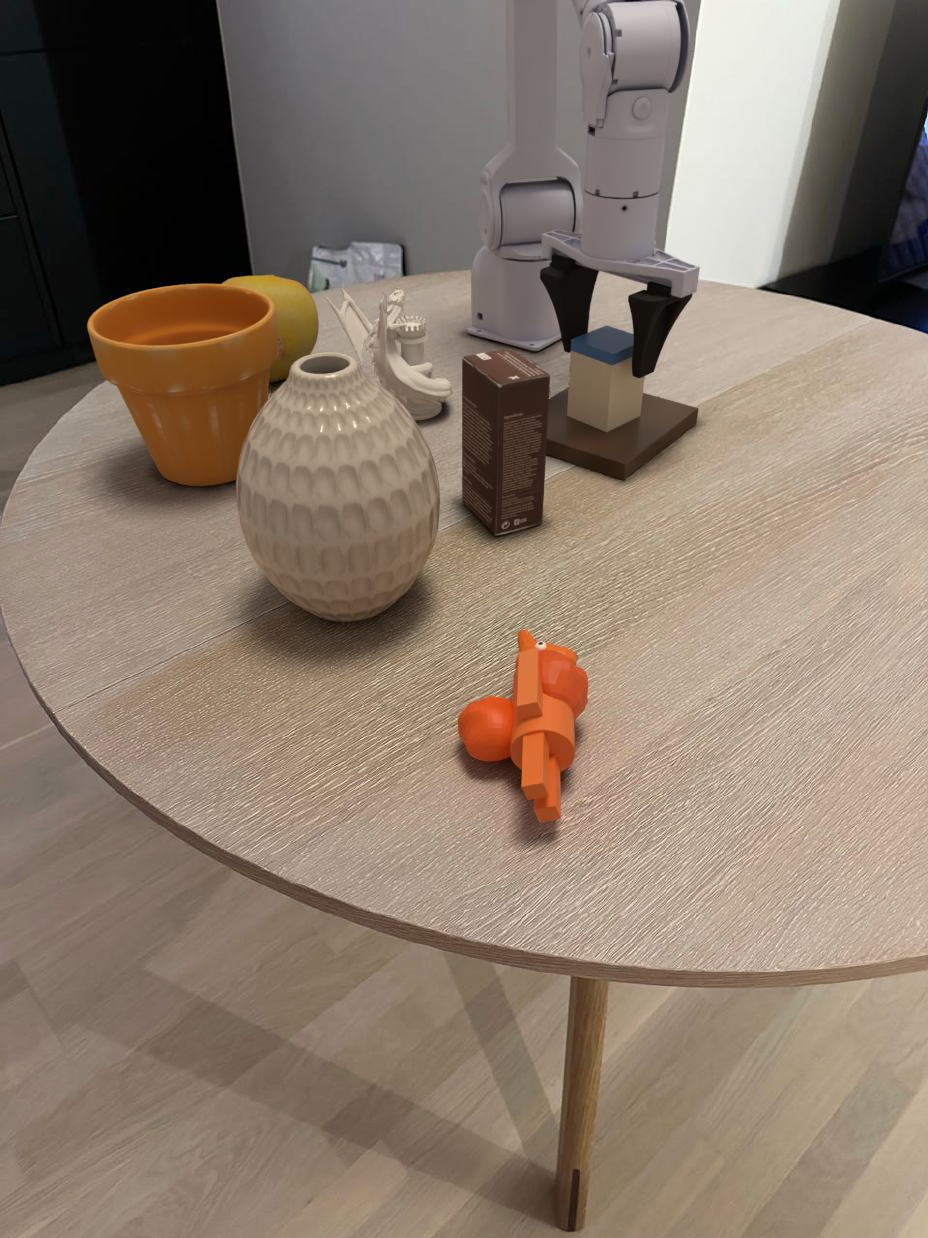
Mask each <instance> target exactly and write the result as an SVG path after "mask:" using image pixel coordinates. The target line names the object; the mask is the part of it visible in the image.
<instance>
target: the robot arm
mask: <svg viewBox="0 0 928 1238" xmlns="http://www.w3.org/2000/svg"><path fill="white" fill-rule="evenodd" d="M504 2H505V52H506V54H505V60H506V61H505V63H506V64H505V65H506V67H505V68H506V69H505V70H506V114H507V115H506V122H507V123H506V125H507V126H506V128H507V129H506V130H507V131H506V132H507V134H506V135H507V143H506V145H505V146H504V147H503V148H502V149H501V150H500V151H499V152H497V154H495V155H494V156H493V157H492V158H491V159H490V160H489V161H488V162H487V163H486V164H485V165H484V167H483V168H482V169H481V174H480V176H479V179H480V181H479V182H480V184H479V189H480V190H479V195H478V201H477V218H478V228H479V233H480V238H481V241H482V243H483V244H484V245H483V246H482V247H481V248H480V249H479V250H478V252H476V255H475V257H474V260H473V262H472V266H471V272H470V304H471V305H470V306H471V309H470V311H471V312H470V313H471V326H469V327H468V328H467V330H466V332H467V334H469V335H474V336H476V337H481V338H484V339H487V340H491V341H496V342H500V343H503V344H507V345H511V346H513V347H517V348H520V349H524V350H528V351H532V352H539V351H542V350H543V349H544V348H547V347H548V346H550V345H551V344H554V343H555V342H558V341H559V340H561V343H562V347H563V352H566V353H568V354H571V339H573V338H576V337H579V336H581V335H584V334H586V333H589V326H590V325H589V324H590V314H591V312H590V311H591V305H592V299H593V294H594V290H595V286H596V282H597V279H598V276H599V273H600V272H602V273H604V274H609V275H613V276H614V277H615V276H616V277H620V278H623V279H626V280H629V281H633V282H637V283H641V284H644V285H646V289H641V290H639V291H636V292H633V293H631V294H628V297H627V303H628V305H629V309H630V315H631V322H632V334H633V337H634V340H633V354H632V374H633V376H634V377H637V378H642V377H644V376H645V377H646V376H649V375H651V374H652V373H654V372H655V370H656V366H657V363H658V361H659V357H660V356H661V352H662V350H663V348H664V345H665V343H666V340H667V338H668V336H669V334H670V332H671V331H672V329H673V327H674V325H675V323H676V321H677V319H678V318H679V316H680V315H681V313H682V311H683V310H685V308H686V306H687V305H688V303H689V302H690V301H691V300H692V298H693V294H695V293H696V292H697V291H698V284H699V276H700V269H701V267H700V265H695V264H692V263H691V262H690V263H689V262H686V261H684V260H682V259H680V258H678V257H676V256H675V255H672V254H670V253H668V252H667V251H664V250H661V249H660V248H658V247H657V241H656V240H655V239H656V229H657V221H658V220H657V219H658V211H659V203H660V202H659V200H660V194H661V193H660V192H661V185H662V183H661V182H662V175H663V174H662V173H663V163H664V155H665V144H666V136H667V135H666V134H667V125H668V115H669V106H670V94H674V93H675V92H676V91H678V90H679V88H680V86H681V85H682V83H683V81H684V78H685V76H686V73H687V69H688V64H689V59H690V51H691V26H690V20H689V19H690V18H689V15H688V12H687V7H686V4H685V1H684V0H571V2H572V6H573V9H574V12H575V14H576V17H577V21H578V23H579V27H580V30H581V35H580V43H579V48H578V51H579V52H578V60H579V61H578V63H579V75H580V81H581V90H582V91H581V92H582V100H581V101H582V102H581V103H582V105H581V112H582V120H583V121H584V122H586V123H587V132H586V149H585V169H584V184H583V185H584V186H583V193H582V181H581V171H580V167H579V165H578V163H577V162H576V161H575V160H574V158H572V157H571V156H570V155H568V153H566V152H565V151H564V150H562V149H561V148H560V147H559V146H557V102H558V101H557V97H558V96H557V94H558V93H557V92H558V90H557V89H558V87H557V86H558V84H557V83H558V79H557V77H558V0H505V1H504ZM554 177H555V178H556V179H544V180H542V178H554ZM527 179H529V180H530V179H541V180H531V181H517V182H512V181H515V180H527Z"/></svg>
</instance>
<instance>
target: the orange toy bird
mask: <svg viewBox="0 0 928 1238" xmlns="http://www.w3.org/2000/svg"><path fill="white" fill-rule="evenodd" d="M516 642H517V646H518V654H517V656H516V660H515V663H514V669H515V671H514V673H513V678H512V679H513V680H512V683H513V684H512V698H511V699H512V700H510V699H509V698H507V697H501V696H493V695H492V696H491V695H489V696H486V697H484V698H481V699H479V700H475V701H470V702H469V704H467V706H466V707H465V708H464V709H463V710H462V711H461V712H460V713H459V715H458V717H457V733H458V737H459V739H460V740H461V741H462V742H463V744H464V745H465V749H466V750H467V753H468V754H469V756H471V757H472V758H474V759H476V760H480V761H482V762H483V761H484V762H498V761H503V760H506V759H508V758H510V759H511V761H512V762H513V764H514V765H515V766H516V767H517V768H518V769H520V770H521V789H522V792H523V794H524V796H525V797H526V800H527V801H529V800H533V811H534V813H535V815H536V818H537V819H538V822H539V823H546V822H550V821H557V820H561V819H562V802H561V801H562V800H561V792H562V791H561V772H564V771H565V770H567V769H568V768H569V767H570V766H571V765H572V763H573V762H574V760H575V757H576V743H575V742H576V740H575V739H576V737H575V721H576V720H577V719H578V717H579V716H580V715H581V714H582V713H583V712H584V711H585V709H586V707H587V705H588V703H589V700H588V699H589V698H588V692H589V677H588V674H587V672H586V671H585V670H584V669H583V668H582V667H579V666H578V665H577V662H578V657H579V656H578V654H577V653H576V652H575V651H573V649H571V648H568V647H566V646H561V645H556V644H553V643H549V642H546V641H542V640H541V641H540V640H539V641H538V640H537V639H535V638H534V637H533V636H532V634H531V633H530V631H528V629H521V630H519V631H518V632H517V638H516Z"/></svg>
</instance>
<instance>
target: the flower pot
mask: <svg viewBox="0 0 928 1238" xmlns="http://www.w3.org/2000/svg"><path fill="white" fill-rule="evenodd" d="M86 328H87V332H88V335H89V339H90V343H91V346H92V350H93V354H94V357H95V360H96V364H97V367H98V369H99V372H100V374H101V375H102V377H103V378H104V379H105V380H106V381H107V382H108V383H110V384H111V385H113V386H115V387H116V388H117V389H118V391H119V393H120V395H121V397H122V399H123V402H124V403H125V404H126V407H127V409H128V411H129V414H130V415H131V418H132V420H133V421H134V424H135V425H136V428H137V431H138V432H139V434H140V436H141V438H142V440H143V442H144V444H145V446H146V448H147V450H148V452H149V454H150V456H151V458H152V460H153V462H154V464H155V466H156V467H157V470H158V471H159V473H160V474H161V476H162V477H163V478H165V479H166V480H168V481H171V482H173V483H177V484H178V485H182V486H184V485H185V486H190V487H209V486H210V487H211V486H217V485H221V484H228V483H231V482H234V481H236V477H237V470H238V463H239V458H240V454H241V451H242V447H243V444H244V441H245V439H246V436H247V434H248V432H249V429H250V427H251V424H252V422H253V421H254V419H255V417H256V416H257V414H258V412H259V411H260V409H261V408H262V407H263V405H264V404H265V403H266V402H267V400H268V399H269V387H270V382H269V373H270V367H271V366H272V365H273V364H274V362H275V361H276V359H277V357H278V354H279V339H278V329H277V320H276V313H275V306H274V304H273V302H272V301H271V299H269V298H268V297H267V296H265V295H264V294H262V293H260V292H258V291H255V290H252V289H248V288H244V287H239V286H233V285H224V284H222V283H185V284H176V285H168V286H162V287H156V288H151V289H145V290H141V291H137V292H134V293H131V294H127V295H124V296H122V297H119V298H116V299H114V300H112V301H110V302H108V303H106V304H103V305H102V306H101V307H99V308H98V309H96V310H95V311H94V312H93V313H92V314H91V316H90V317H89V318H88V321H87V326H86Z"/></svg>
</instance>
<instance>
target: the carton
mask: <svg viewBox="0 0 928 1238" xmlns="http://www.w3.org/2000/svg"><path fill="white" fill-rule="evenodd" d="M633 340H634V337H633V332H628V331H625V330H622V329H620V328H616V327H613V326H610V325H604V326H601V327H599V328H596V329H594V330H592V331H591V330H590V331H588V333H586V334H584V335H581V336H579V337H576V338H573V339H571V353H569V355H570V356H569V357H570V358H569V376H568V387H569V391H568V409H567V416H569V417H571V418H573V419H576V420H578V421H580V422H583V423H585V424H588V425H590V426H592V427H595V428H597V429H600V430H602V431H604V432H609V431H611V430H613V429H615V428H617V427H619V426H621V425H623V424H625V423H627V422H629V421H631V420H633V419H635V418H637V417H639V416H640V415H641V406H642V397H643V393H644V387H645V377H646V376H644V377H642V378H637V377H634V376H633V374H632V354H633Z"/></svg>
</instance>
